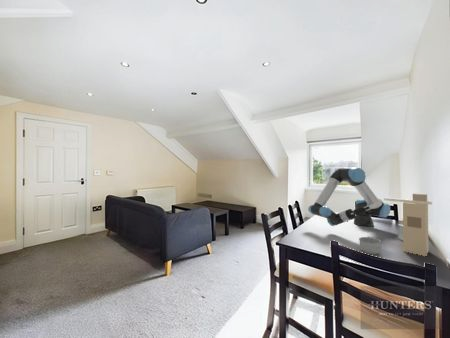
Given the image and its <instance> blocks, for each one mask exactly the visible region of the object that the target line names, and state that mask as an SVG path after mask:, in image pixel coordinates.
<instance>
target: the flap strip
mask: <svg viewBox="0 0 450 338" xmlns="http://www.w3.org/2000/svg"><path fill="white" fill-rule="evenodd" d="M383 201H385V202H386V201H388V202H397V203H398V202H399V203H403V202H409V203H420V204H428V205H433V201H432V200H428V194H427V193H412V199H406V198H397V197H396V198H395V197H394V198H393V197H383Z"/></svg>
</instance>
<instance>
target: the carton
mask: <svg viewBox="0 0 450 338" xmlns="http://www.w3.org/2000/svg"><path fill="white" fill-rule="evenodd" d="M402 224H403V241H402V243H403V244H402V247H403V248H402V250H403V251H402V252H404V253H408V252H409V254H412V253H413V255H416V254H418V255H417V256H421V255H422V256H421V257H425V256H428V254H429V204H420V203H409V202H402ZM427 253H428V254H427Z"/></svg>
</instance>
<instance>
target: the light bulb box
mask: <svg viewBox="0 0 450 338" xmlns="http://www.w3.org/2000/svg"><path fill="white" fill-rule="evenodd" d="M397 229H398V230H397V239H398V240H400V241H402V242H403V223H402V224H401V223H398V224H397Z"/></svg>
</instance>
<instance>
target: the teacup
mask: <svg viewBox="0 0 450 338" xmlns="http://www.w3.org/2000/svg"><path fill="white" fill-rule="evenodd" d="M359 247H360V249H361V251H363V252H364V253H366V254H368V255H375V256H376V255H378V254H380V253H381V252H382V241H381V240H380V239H378V238H375V237H372V236H371V237H370V236H362V237H359Z"/></svg>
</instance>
